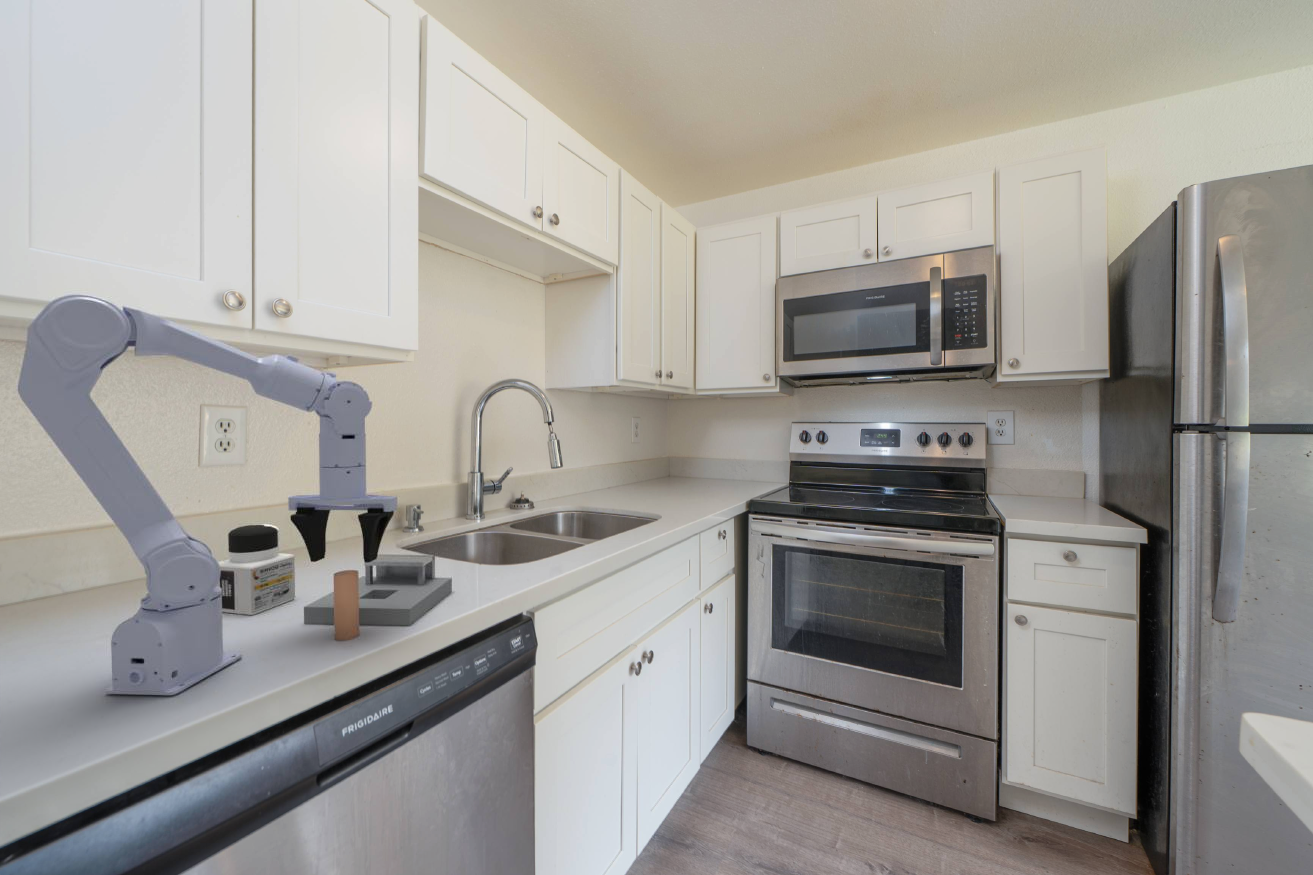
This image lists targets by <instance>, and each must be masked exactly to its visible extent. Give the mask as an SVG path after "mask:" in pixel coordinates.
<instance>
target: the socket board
mask: <svg viewBox="0 0 1313 875" xmlns="http://www.w3.org/2000/svg"><path fill="white" fill-rule="evenodd" d="M358 578H359V626H361V625H363V626H367V625H368V626H369V625H370V626H373V625H374V626H411V625H412V624H413V623H415V622H416V621H417V620H418V619H420V618H422V616H424V615H425V614H426V613H427V612H429V611H430V610H431V609H432V608H433V607H435V606H436V605H437V604H438V603H440V602H441V601H442V600H443V599H445V598H446V597H447V596H448V595H450V594H451V593H452V592H453V579H452V577H435V578H434V579H425V584H424V585H423V586H421V585H418V579H387V578H376V576H374V575H373V583H372V584H370V585H366V579H365V575H364V576H361V577H358ZM303 624H307V625H311V624H312V625H314V624H315V625H320V624H321V625H334V591H331V592H330V593H328V594H326V595H325V596H324V595H323V596H322V597H320V598H318V599H316V600H315V601H313V602H311V603H309V604H307V605H305V606H304V607H303Z"/></svg>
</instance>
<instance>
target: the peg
mask: <svg viewBox="0 0 1313 875" xmlns="http://www.w3.org/2000/svg"><path fill="white" fill-rule="evenodd" d="M359 578H360V577H359V571H358V570H357V569H347V570H341V571H337V572H335V573H333V592H334V624H333V625H334V626H333V628H334V630H333V631H334V640H335V641H340V642H341V641H343V642H344V641H349V640H353V639H355V638H357V637H359V636H360V625H359Z"/></svg>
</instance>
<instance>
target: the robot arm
mask: <svg viewBox="0 0 1313 875" xmlns="http://www.w3.org/2000/svg"><path fill="white" fill-rule="evenodd" d="M27 327H28V328H27V332H26V333H27V335H26V344H25V350H24V354H23V359H22V365H21V370H20V372H19V377H18V378H19V379H18V383H17V393H18V396H19V397H20V400H22V402H23V403H24V405H25V406H26V408H27V409H29V411H30V413H31V414H32V415H33V417H34V418H35V419H36V421H37V422H38V423H39V424H40V426H41V427H42V429H44V431H45V433H46V434H47V435H48V436H49V437H50V439H51V440H52V442H53V443H54V445H55V446H56V447H57V448H58V450H59V451H60V453H61V454H62V455H63V457H64V459H66V460H67V462H68V463H69V465H70V466H71V467H72V469H73V470H74V471H75V472H76V474H77V476H79V478H80V480H82V482H83V483H84V484H85V485H86V487H87V488H88V490H89V491H90V493H91V494H92V495H93V497H94V498H95V499H96V501H98V504H100V505H101V508H103V509H104V511H105V512H106V514H107V515H108V516H109V517H110V519H111V521H112V522H113V523H114V524H115V525H116V527H117V528H118V530H119V531H120V532H121V533H122V535H123V536H124V538H125V539H126V541H127V542H128V544H129V546H130V547H131V549H132V551H133V553H134V555H135V556H136V557H137V560H138V561H139V562H140V564H141V565H142V566H143V568H144V573H145V576H146V583H145V584H146V585H145V586H146V590H147V592H148V593H147V594H146V595H145V596H144V597H142V598H141V599H140V607H139V609H138V610H137V612H136V613H134V614H133V615H132V616H131V617H129V618H128V619H125V620H124V621H122V622H121V623H119V624H118V626H117V627H116V628H115V629H114V631H113V633H112V636H111V640H110V641H111V643H110V647H111V648H110V649H111V650H110V651H111V676H112V680H111V681H112V685H111V686H110V687H108V688H106V689H105V694H106V695H140V696H141V695H144V696H145V695H146V696H150V695H151V696H174V695H177V694H178V693H181V692H182V691H184V690H187V689H188V688H189V687H191V686H193V685H194V684H197V683H198V682H200V681H202V680H203V679H206V678H207V677H209V676H211V675H212V674H214V673H216V672H218V671H220V670H222V669H223V668H224V667H228V666H229V665H230V664H232V663H234V662H235V661H237V660H239V659H241V658H242V657H243V653H242V652H224V639H223V638H224V637H223V635H224V633H223V612H222V589H221V588H220V587H218V586H217V584H218V582H219V579H220V575H221V570H220V566H219V563H218V562H219V561H217V559H216V558H215V557H214V556H213V553H212V551H211V549H210V548H209V546H208V545H207V544H206V543H205V542H203V541H201V540H199V539H197V538H195V537H194V536H193V537H192V536H191V535H190V534H188V532H187V531H186V530H185V529H184V527H183V525H182V524H181V523H180V521H179V520H178V519H177V518H176V516H174V514H173V513H172V511H171V510H170V508H169V507H168V506H167V503H166V502H165V501H164V500H163V498H162V496H160V494H159V493H158V490H156V488H155V487H154V486H153V484H152V482H151V481H150V480H149V478H148V477H147V475H146V474H145V473H144V471H143V469H141V467H140V465H139V464H138V463H137V461H136V460H135V458H134V457H133V456H132V454H131V453H130V451H129V449H128V448H127V447H126V446H125V444H124V443H123V442H122V440H121V438H120V437H119V436H118V434H117V433H116V431H115V430H114V428H113V427H112V425H110V424H111V423H109V422H108V420H107V419H106V417H105V416H104V414H103V412H101V410H100V408H99V407H98V406H97V404H96V403H95V401H94V399H92V397H91V393H92V391H93V389H94V388H95V386H96V384H97V382H98V380H99V379H100V377H101V376H102V373H103V370H104V369H105V368H107V367H108V366H109V365H110V364H112V363H114V361H116V360H117V359H118V358H119V357H121V356H122V355H123V354H124V353H125V352H126V351H127V350H128V349H129V347H134V357H147V356H163V355H167V356H172V357H175V358H179V359H181V360H182V359H183V360H185V361H188V362H192V363H194V364H197V365H200V366H203V367H207V368H210V369H212V370H216V371H219V372H222V373H225V374H228V375H231V376H234V377H237V378H240V379H243V380H246V381H247V382H249V383H250V384H251V387H252V389H253V391H254V393H255V394H256V395H258V396H261V397H263V398H267V399H270V400H273V401H276V402H279V403H281V404H284V405H287V406H291V407H292V408H296V409H298V410H302V411H305V412H307V413H312V412H315V413H316V415H317V416H318V417H319V434H318V448H319V449H318V454H319V455H318V456H319V460H318V462H319V467H318V472H319V473H318V474H319V475H318V476H319V481H318V482H319V494H297V495H291V496H288V500H287V504H288V511H295V513H294V514H291V515H290V521H291V523H293V525H294V526H295V527H296V529H297V531H298V532H299V534H300V536H301V537H302V539H303V542H304V544H305V547H306V549H307V553H308V555H309V556H308V557H309V559H310V562H312V563H313V562H314V563H315V562H318V561H321V560H323V559H325V557H326V551H327V550H326V548H327V547H326V546H327V545H326V542H327V541H326V540H327V539H326V538H327V535H326V534H327V526H328V521H329V516H330V513H331V511H367V512H363V513H360V514H358V515H357V519H358V522H359V524H360V525H359V526H360V528H361V530H360V531H361V534H362V543H363V545H362V549H363V552H362V553H363V555H362V556H363V561H364V562H367V563H369V562H372V561H374V560H376V559H377V555H379V550H380V546H381V542H382V540H383V539H382V538H384V534H385V531H386V529H387V527H388V526H389V523H390V522H391V519H392V518H393V516H394V515H395V514H394V511H396V510H398V496H397V495H394V496H393V495H379V494H367V448H366V447H367V442H366V441H367V438H366V436H367V435H366V418H367V417H368V416H369V414H370V413H371V410H372V407H373V402H372V401H371V400H370V397H369V394H368V393H367V391H366V390H365V389H364V387H363V386H361V385H360V384H358V383H356V382H353V381H349V380H343V381H337V374H336V373H334V372H331V371H327V372H326V373H324V372H323V371H320V370H317V369H315V368H313V367H309V366H307V365H305V364H302V363H299V359H300V358H299V357H297V356H295V355H293V354H290V353H289V354H286V355H285V356H282V355H280V354H272V355H268V356H265V357H261V358H260V357H257V356H255V355H253V354H250V353H249V352H248V353H247V352H245V351H243V350H240V349H238V348H237V347H234V346H232V345H228V344H226V343H225V342H221V341H220V340H217V339H214V338H212V337H209V336H207V335H205V334H202V333H200V332H197V331H195V330H193V329H191V328H188V327H185V326H183V325H182V324H179V323H176V322H174V321H171V320H169V319H166V318H163V317H160V316H158V315H155V314H153V313H150V312H147V311H143V310H141V309H139V308H134V307H130V306H127V305H122V309H121V308H120V307H119V306H118V305H116V304H114V303H113V302H112V301H111V302H110V301H109V300H108V299H105V298H102V297H99V296H95V295H91V294H82V293H81V294H79V293H76V294H67V295H63V296H60V297H57V298H55V299H53V300H51V301H50V302H49V303H47V304H46V305H45V306H44V307H43V309H42V310H41V311H40V312H39V314H37V315H36V317H35V318H34V319H33V320H32V322H31V323H30V324H29V325H28V326H27ZM364 562H363V563H364Z"/></svg>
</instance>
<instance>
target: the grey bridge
mask: <svg viewBox="0 0 1313 875" xmlns="http://www.w3.org/2000/svg"><path fill="white" fill-rule="evenodd" d="M363 563H364V564H363V565H364V566H365V568H364V569H365V572H364V573H365V574H364V576H365V579H366V585H370V584H372V583H373V576H374V574H373V573H374V572H373V570H374V569H373V567H374V566H375V574H376V575H375V577H376V578H387V579H418V585H421V586H423V585H424V584H425V579H434V578H436V555H435V554H385V553H383V554H380V553H378V555H377V559H376V560H374V561H372V562H369V563H367V562H363Z"/></svg>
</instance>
